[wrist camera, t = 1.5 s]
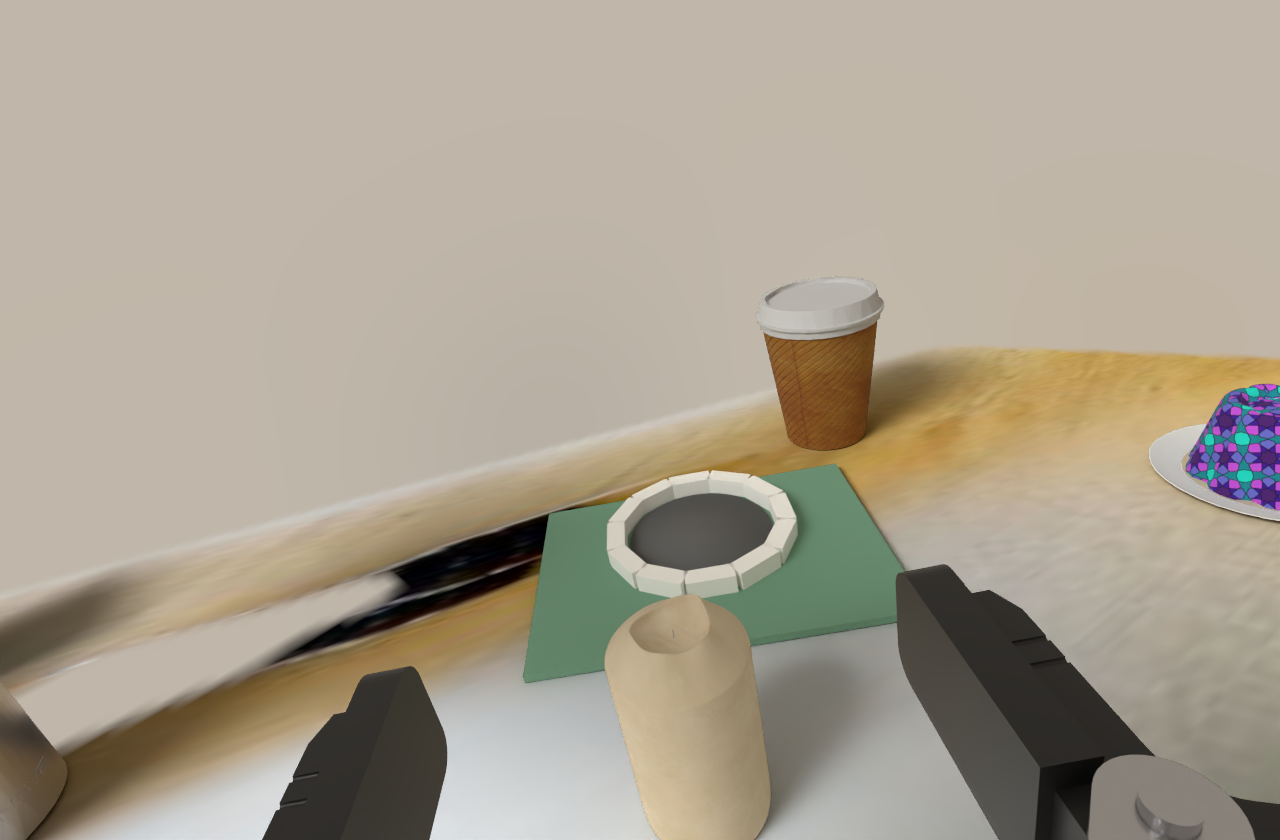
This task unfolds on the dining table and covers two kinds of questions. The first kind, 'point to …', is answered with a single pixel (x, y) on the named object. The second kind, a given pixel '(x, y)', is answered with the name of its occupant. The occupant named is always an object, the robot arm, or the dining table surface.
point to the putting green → (711, 562)
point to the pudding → (1229, 453)
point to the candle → (691, 719)
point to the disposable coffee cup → (822, 356)
